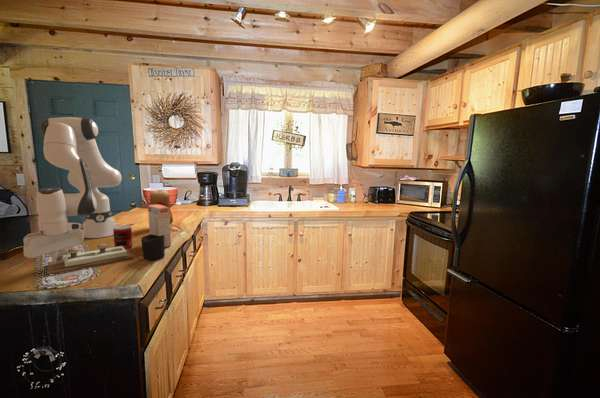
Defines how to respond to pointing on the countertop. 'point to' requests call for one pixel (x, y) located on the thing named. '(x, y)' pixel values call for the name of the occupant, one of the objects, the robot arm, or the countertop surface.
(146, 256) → the pen holder
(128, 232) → the canned food
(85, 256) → the panel
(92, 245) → the countertop surface
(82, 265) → the board
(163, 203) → the butternut squash
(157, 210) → the cracker box
